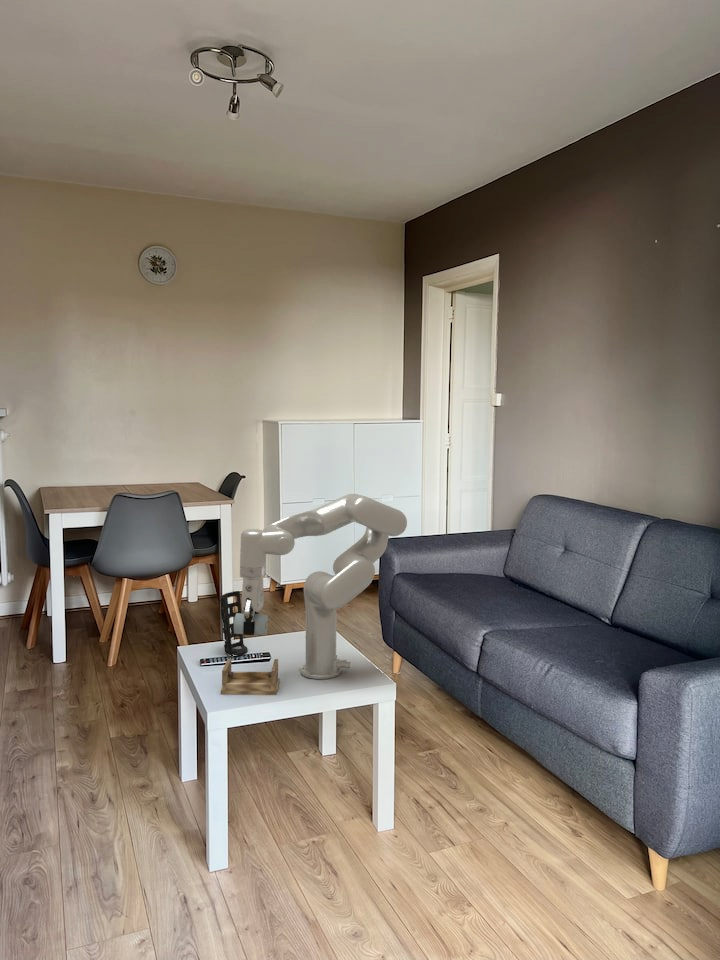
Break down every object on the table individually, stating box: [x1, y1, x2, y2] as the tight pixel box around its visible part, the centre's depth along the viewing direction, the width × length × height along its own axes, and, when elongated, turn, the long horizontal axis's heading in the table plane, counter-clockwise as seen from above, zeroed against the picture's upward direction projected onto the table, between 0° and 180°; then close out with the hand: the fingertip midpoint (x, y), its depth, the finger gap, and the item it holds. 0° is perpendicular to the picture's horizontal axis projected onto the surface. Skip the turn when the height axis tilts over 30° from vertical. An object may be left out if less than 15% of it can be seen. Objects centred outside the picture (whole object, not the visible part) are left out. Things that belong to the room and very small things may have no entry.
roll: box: [233, 612, 269, 636], centre depth 214 cm, size 10×6×6 cm, turn 87°
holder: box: [219, 590, 248, 657], centre depth 242 cm, size 11×8×20 cm
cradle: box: [219, 658, 281, 696], centre depth 212 cm, size 16×10×7 cm, turn 91°
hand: (251, 630), depth 214 cm, fingers closed on roll, 5 cm apart
